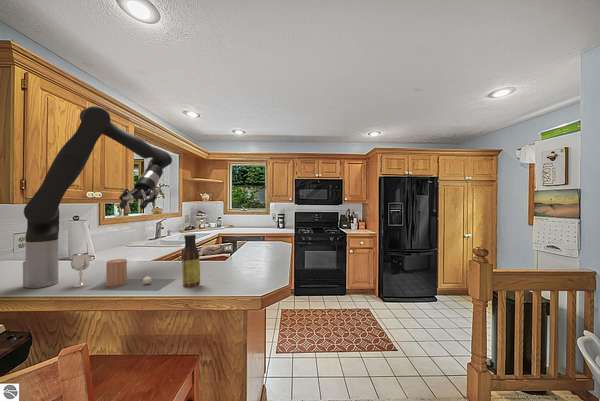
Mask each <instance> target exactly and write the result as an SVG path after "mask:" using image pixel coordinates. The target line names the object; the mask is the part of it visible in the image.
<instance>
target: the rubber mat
mask: <svg viewBox="0 0 600 401" xmlns="http://www.w3.org/2000/svg"><path fill="white" fill-rule="evenodd" d="M143 279H144V278H127V283H126V284H124V285H121V286H115V287H108V286H106V281H105V282H102V283H100V284H98V285H96V286H93V287H90V288H89V289H87V291H119V292H120V291H121V292H122V291H126V292H127V291H130V292H132V291H134V292H137V291H139V292H142V291H144V292H145V291H146V292H150V291H151V292H157V291H158V292H159V291H160V290H162V289H163V288H165V287H167V286H169V284H171V283H173V282H175V281H176V280H177V279H176V278H151V279H152V281H151V283H150V284H147V285H146V284H144V283H143Z"/></svg>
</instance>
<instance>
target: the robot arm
mask: <svg viewBox="0 0 600 401" xmlns="http://www.w3.org/2000/svg"><path fill="white" fill-rule="evenodd" d="M79 120H80V124H79V125H78V128H77V129H76V131H75V132H74V133H73V135H72V136H70V138H69V139H68V140H67V141H66V142H65V144H64V145H63V146H62V147H61V149H60V150H59V151H58V152H57V154H56V156H55V158H54V159H53V161H52V163H51V164H50V166H49V169H48V171H47V173H46V174H45V176H44V179H43V180H42V183H41V185H40V186H39V188H38V190H37V191H36V192H35V193H34V194H33V196H32V197H31V199H30V200H28V202H27V203H26V204H25V206H24V207H23V208H24V209H23V215H24V217H25V219H26V220H27V227H26V233H25V236H24V237H25V238H24V239H25V241H24V242H25V261H23V262H22V287H23V288H26V289H38V288H45V287H49V286H50V287H51V286H53V285H56V284H58V283H59V234H60V207H59V206H60V204H61V202H62V201H63V197H64V196H65V194H66V192H67V191H68V189H70V187H71V186H72V185H73V184H74V183H75V181H77V179H78V178H79V176H80V174H82V171H83V170H84V168H85V167H86V164H87V162H88V160H89V159H90V156H91V155H92V153H93V150H94V148H95V146H96V144H97V142H98V140H99V139H100V137H101V136H102V135H103V136H105V137H107V138H109V139H111V140H113V141H115V142H117V143H119V145H121V146H123V147H125V148H126V149H128V150H129V151H131V152H132V153H134V154H136V155H137V156H139V157H141V158H143V159H145V160H146V159H150V160H149V162H148V165H147V167H146V168H145V171H143V173H142V174H141V175H140V177H139V179H138V180H136V183H135V184H134V188H133V189H131V190H129V189H128V188H125V189H124V190H123V192H122V193H121V194H120V195H119V196H118V199H119V200H120V201H121V202H120V203H119V205H118V206H119V208H120V209H121V210H124V209H125V208H126V206H127V205H128V203H130V202H133V201H135V200H142V202H141V203H140V204H139V207H140V210H144V209H146V208H147V206H148V205H149V204H150V203H152V204H153V203H154V202H155V201H156V199H157V197H158V195H159V194H158V190H156V187H157V185H158V183H159V180H160V179H161V177H162V175H163V173H164V172H163V171H164V169H166V168H167V167H168V166H170V165H171V164H172V163H173V158H172V156H171V155H170V154H169V153H168V152H167V151H165V150H162V149H160V148H157V147H155V146H152V145H151V144H149V143H147V142H146V141H145V140H143V139H141V138H140V137H138V136H136V135H135V134H132V133H130V132H129V131H126V130H124V129H122V128H120V127H119V126H118V125H116V124H115V123H113V122H112V121H111V114H110V112H108V110H106V108H104V107H102V106H100V105H99V106H97V105H94V106H93V105H92V106H88V107H86V108H84V109H83V110H81V111H80V113H79Z"/></svg>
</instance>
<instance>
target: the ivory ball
mask: <svg viewBox="0 0 600 401" xmlns="http://www.w3.org/2000/svg"><path fill="white" fill-rule="evenodd" d="M142 279H143V283H144V284H146V285H147V284H150V283H151V281H152V279H153V278H152V277H151V276H145V277H144V278H142Z"/></svg>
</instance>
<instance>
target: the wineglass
mask: <svg viewBox="0 0 600 401" xmlns="http://www.w3.org/2000/svg"><path fill="white" fill-rule="evenodd" d="M90 265H91V259H90V254H89V253H88V252H81V253H74V254H73V255H72V256H71V261H70V267H71V269H72V270H74V271H78V276H79V282H78V283H77V284H76V283H75V284H73V286H72V287H74V288H78V287H79V288H80V287H85V286H88V284H89V283H88V282H83V281H82V279H83V278H82V276H83V271H85V270H87V269H89V267H90Z"/></svg>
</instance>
